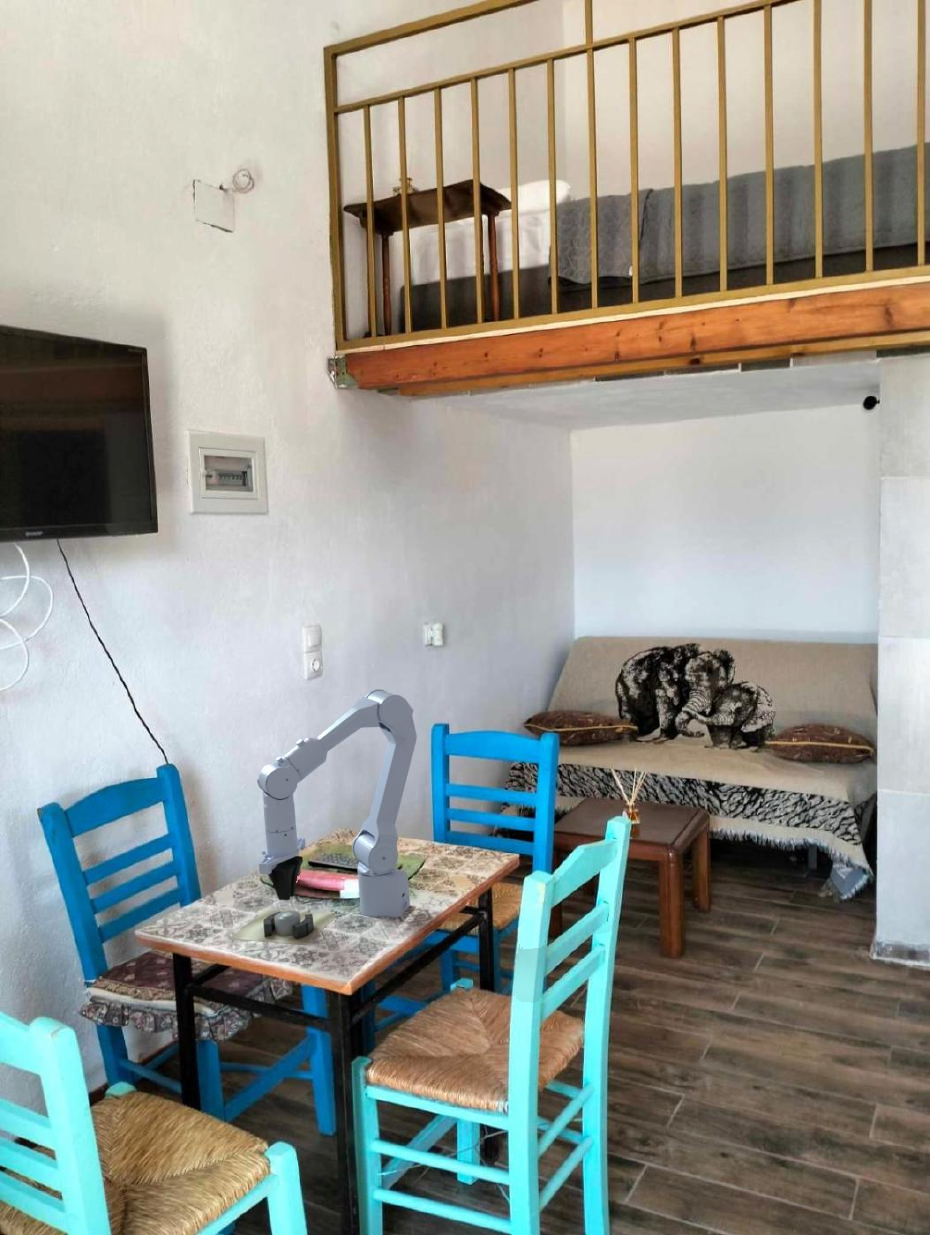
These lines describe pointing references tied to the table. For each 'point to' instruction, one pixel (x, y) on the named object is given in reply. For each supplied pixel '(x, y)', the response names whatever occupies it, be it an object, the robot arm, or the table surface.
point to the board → (256, 932)
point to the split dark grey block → (298, 929)
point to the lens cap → (286, 922)
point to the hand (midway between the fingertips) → (286, 897)
